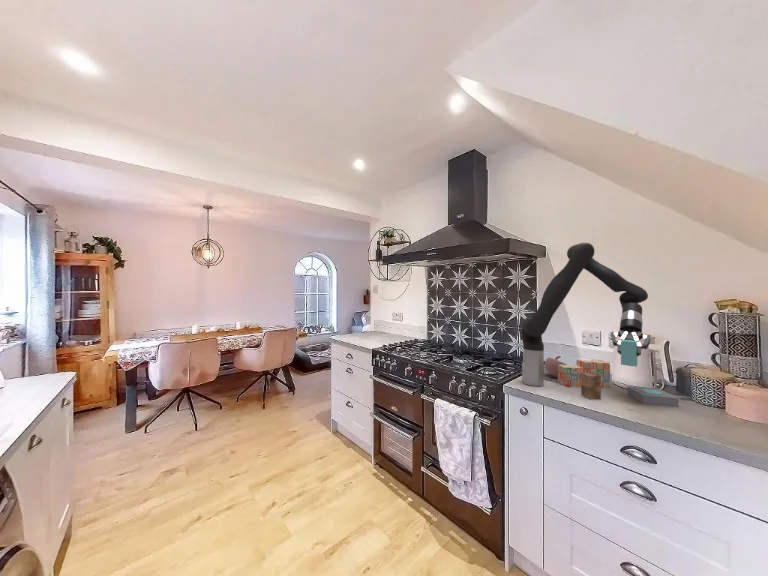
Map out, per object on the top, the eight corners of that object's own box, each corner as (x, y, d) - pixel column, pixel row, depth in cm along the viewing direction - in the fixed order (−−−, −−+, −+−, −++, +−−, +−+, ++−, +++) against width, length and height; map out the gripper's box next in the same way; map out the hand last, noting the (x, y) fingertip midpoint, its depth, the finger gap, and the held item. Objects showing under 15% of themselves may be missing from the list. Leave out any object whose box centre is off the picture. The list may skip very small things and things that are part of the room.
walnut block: (589, 399, 127) (589, 376, 127) (581, 395, 132) (581, 372, 132) (600, 399, 127) (600, 376, 127) (592, 395, 132) (592, 372, 132)
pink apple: (575, 379, 156) (576, 357, 157) (557, 380, 153) (557, 358, 153) (557, 373, 168) (557, 353, 168) (539, 374, 165) (539, 353, 165)
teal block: (620, 364, 124) (620, 340, 125) (622, 362, 128) (622, 339, 128) (636, 366, 121) (636, 342, 121) (637, 364, 125) (637, 340, 125)
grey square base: (643, 404, 122) (643, 394, 122) (627, 395, 134) (627, 385, 134) (678, 408, 119) (678, 397, 120) (658, 397, 131) (658, 388, 131)
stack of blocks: (564, 386, 144) (564, 361, 145) (557, 382, 151) (557, 358, 151) (610, 388, 143) (610, 362, 143) (601, 384, 149) (601, 359, 149)
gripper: (610, 316, 135) (606, 346, 126) (652, 318, 125) (651, 351, 116) (611, 327, 139) (608, 356, 130) (653, 330, 129) (652, 362, 120)
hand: (628, 354), depth 123 cm, fingers closed on teal block, 5 cm apart
